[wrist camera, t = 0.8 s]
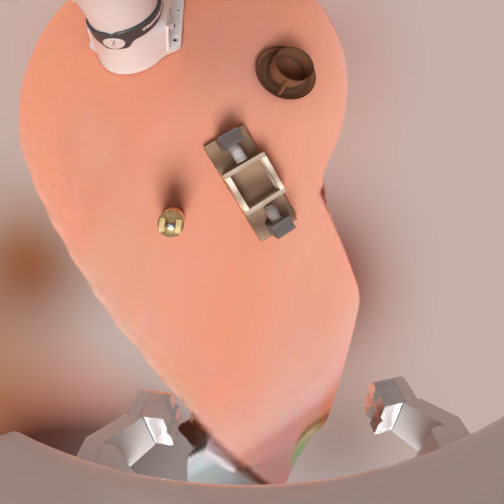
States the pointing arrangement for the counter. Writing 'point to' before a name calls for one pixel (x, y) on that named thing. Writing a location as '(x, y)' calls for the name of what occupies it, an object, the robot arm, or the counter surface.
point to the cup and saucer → (286, 72)
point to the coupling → (171, 222)
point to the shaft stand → (252, 183)
